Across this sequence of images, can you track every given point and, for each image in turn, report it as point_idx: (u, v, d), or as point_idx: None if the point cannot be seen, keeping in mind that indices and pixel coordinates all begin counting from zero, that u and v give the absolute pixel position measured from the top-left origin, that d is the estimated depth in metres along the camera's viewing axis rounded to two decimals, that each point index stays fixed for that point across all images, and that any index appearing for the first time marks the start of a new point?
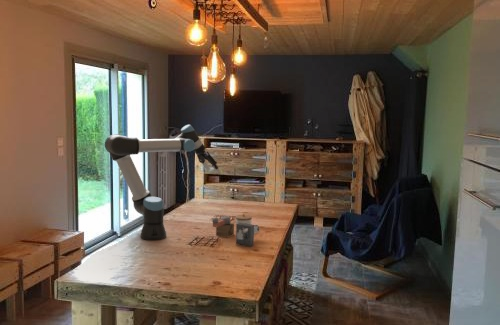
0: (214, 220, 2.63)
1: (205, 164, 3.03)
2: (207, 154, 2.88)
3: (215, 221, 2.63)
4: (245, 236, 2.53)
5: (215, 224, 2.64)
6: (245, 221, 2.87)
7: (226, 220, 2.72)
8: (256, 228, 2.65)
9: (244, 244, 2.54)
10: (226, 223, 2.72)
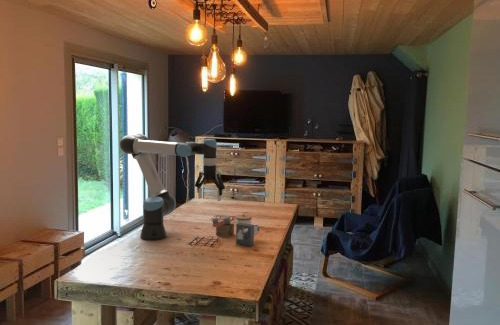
0: (214, 220, 2.63)
1: (200, 190, 2.72)
2: (219, 176, 2.64)
3: (215, 221, 2.63)
4: (245, 236, 2.53)
5: (215, 224, 2.64)
6: (245, 221, 2.87)
7: (226, 220, 2.72)
8: (256, 228, 2.65)
9: (244, 244, 2.54)
10: (226, 223, 2.72)
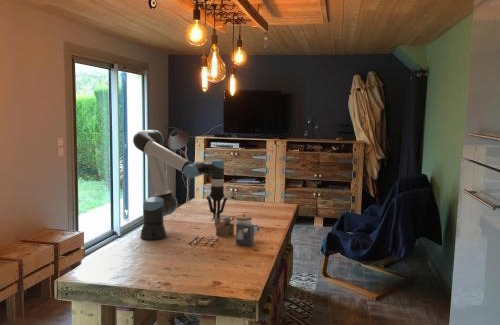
0: (217, 220, 2.62)
1: None
2: None
3: (218, 221, 2.62)
4: (245, 236, 2.53)
5: (217, 224, 2.63)
6: (245, 221, 2.87)
7: (227, 220, 2.72)
8: (256, 228, 2.65)
9: (244, 244, 2.54)
10: (227, 223, 2.72)
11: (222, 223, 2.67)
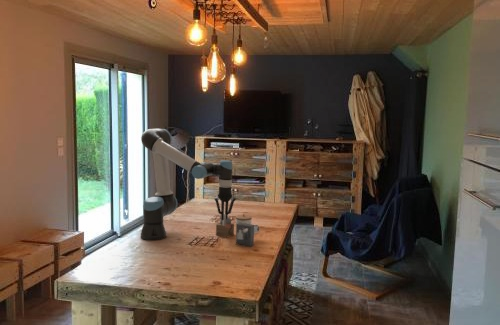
0: (229, 221, 2.62)
1: None
2: None
3: (230, 222, 2.62)
4: (245, 236, 2.53)
5: (229, 224, 2.63)
6: (245, 221, 2.87)
7: None
8: (256, 228, 2.65)
9: (244, 244, 2.54)
10: None
11: None
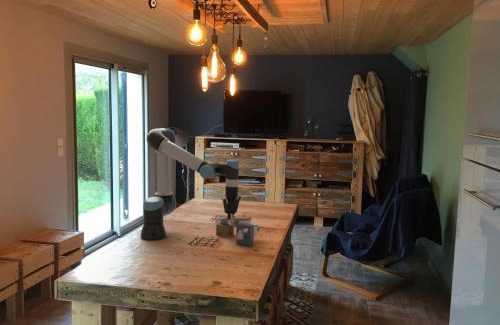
0: (238, 220, 2.64)
1: None
2: None
3: None
4: (245, 236, 2.53)
5: (237, 223, 2.65)
6: (245, 221, 2.87)
7: None
8: (256, 228, 2.65)
9: (244, 244, 2.54)
10: None
11: None
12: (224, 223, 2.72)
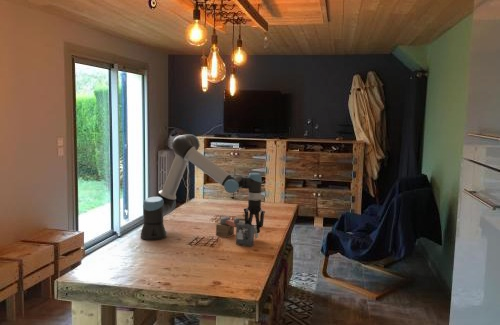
0: (238, 220, 2.64)
1: None
2: None
3: None
4: (245, 236, 2.53)
5: (237, 223, 2.65)
6: None
7: None
8: None
9: (244, 244, 2.54)
10: None
11: None
12: (224, 223, 2.72)
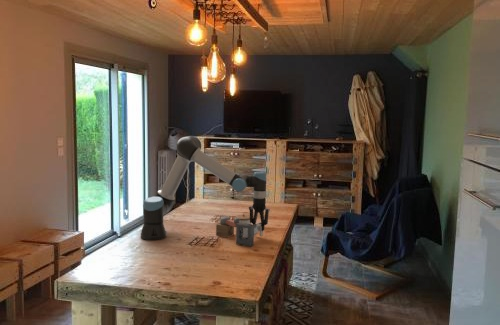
0: (238, 220, 2.64)
1: None
2: None
3: None
4: None
5: (237, 223, 2.65)
6: (245, 221, 2.87)
7: None
8: None
9: (244, 244, 2.54)
10: None
11: None
12: (224, 223, 2.72)
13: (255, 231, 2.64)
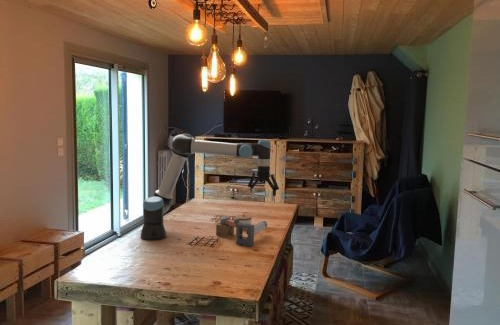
0: (238, 220, 2.64)
1: None
2: None
3: None
4: (254, 232, 2.62)
5: (237, 223, 2.65)
6: (245, 221, 2.87)
7: None
8: (264, 224, 2.74)
9: (244, 244, 2.54)
10: None
11: None
12: (224, 223, 2.72)
13: (259, 229, 2.68)
